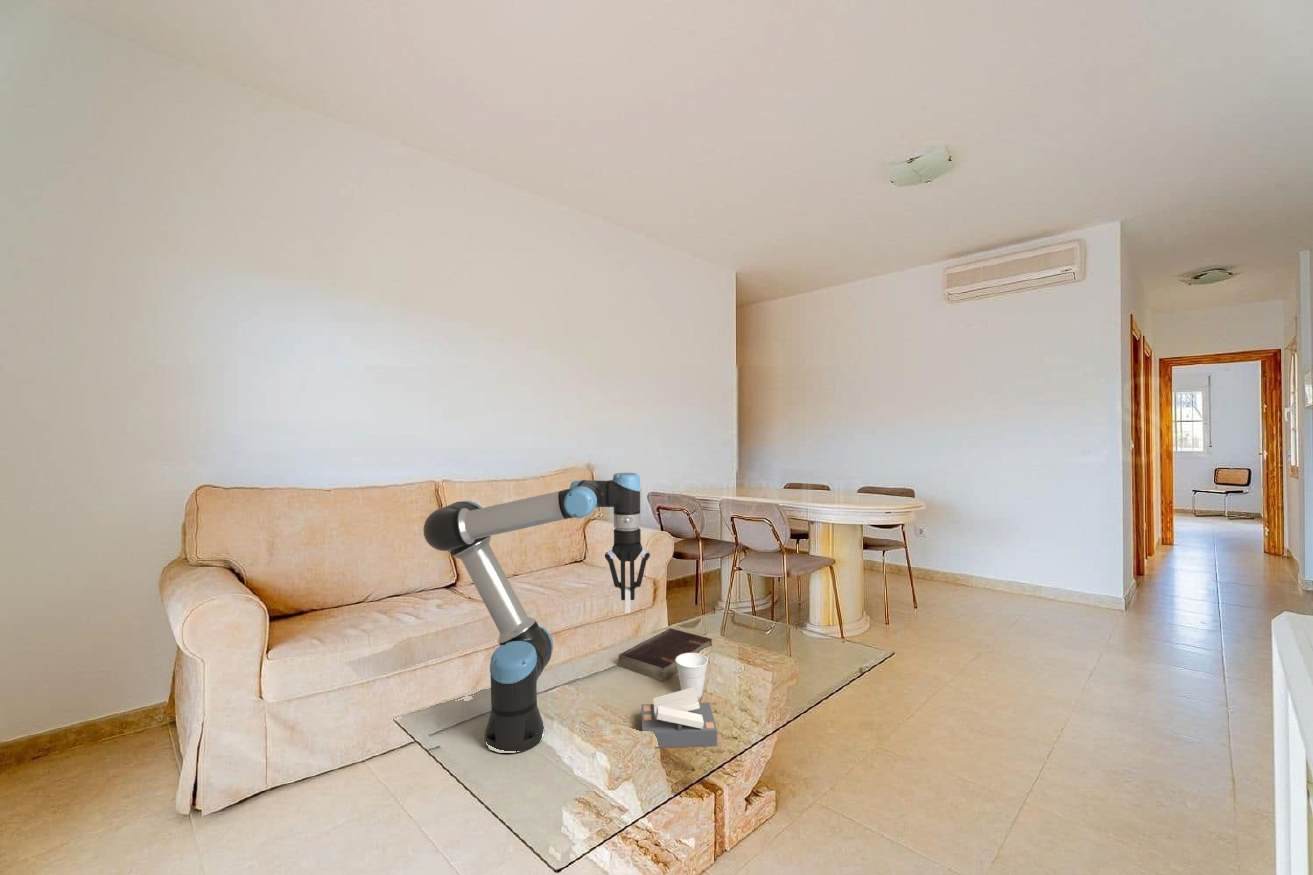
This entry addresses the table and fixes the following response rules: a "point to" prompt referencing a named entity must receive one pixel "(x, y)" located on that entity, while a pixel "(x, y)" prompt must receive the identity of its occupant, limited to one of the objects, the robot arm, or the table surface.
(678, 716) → the rocker
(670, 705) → the white block
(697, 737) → the switch unit
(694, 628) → the table surface
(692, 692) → the rocker
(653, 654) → the dark brown tray
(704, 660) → the cup
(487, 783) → the table surface
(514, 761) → the table surface
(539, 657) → the robot arm
